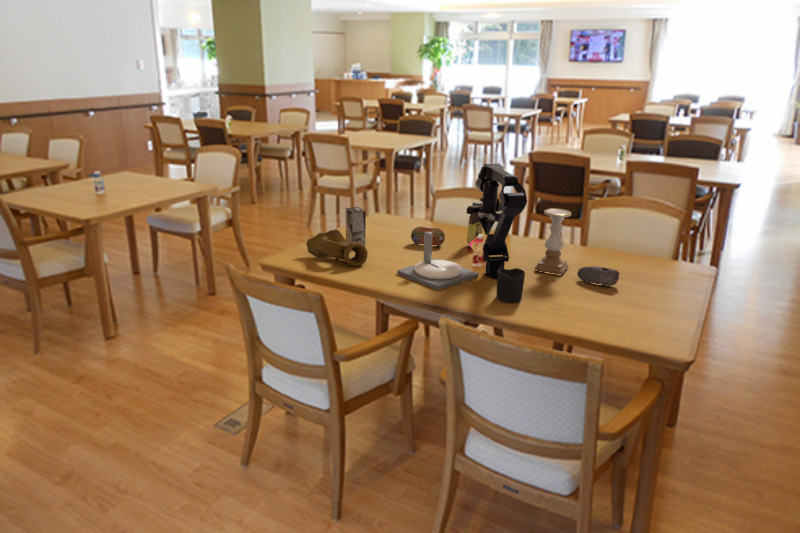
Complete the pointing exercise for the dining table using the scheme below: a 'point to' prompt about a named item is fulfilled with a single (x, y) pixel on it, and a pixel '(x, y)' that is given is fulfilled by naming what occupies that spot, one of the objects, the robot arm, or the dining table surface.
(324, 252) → the brown looped sculpture
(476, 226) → the sauce bottle
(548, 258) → the candle holder
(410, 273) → the dial board
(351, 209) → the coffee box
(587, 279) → the perforated stone tool
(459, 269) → the dial
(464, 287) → the dining table surface
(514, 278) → the pen holder
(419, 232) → the tin
